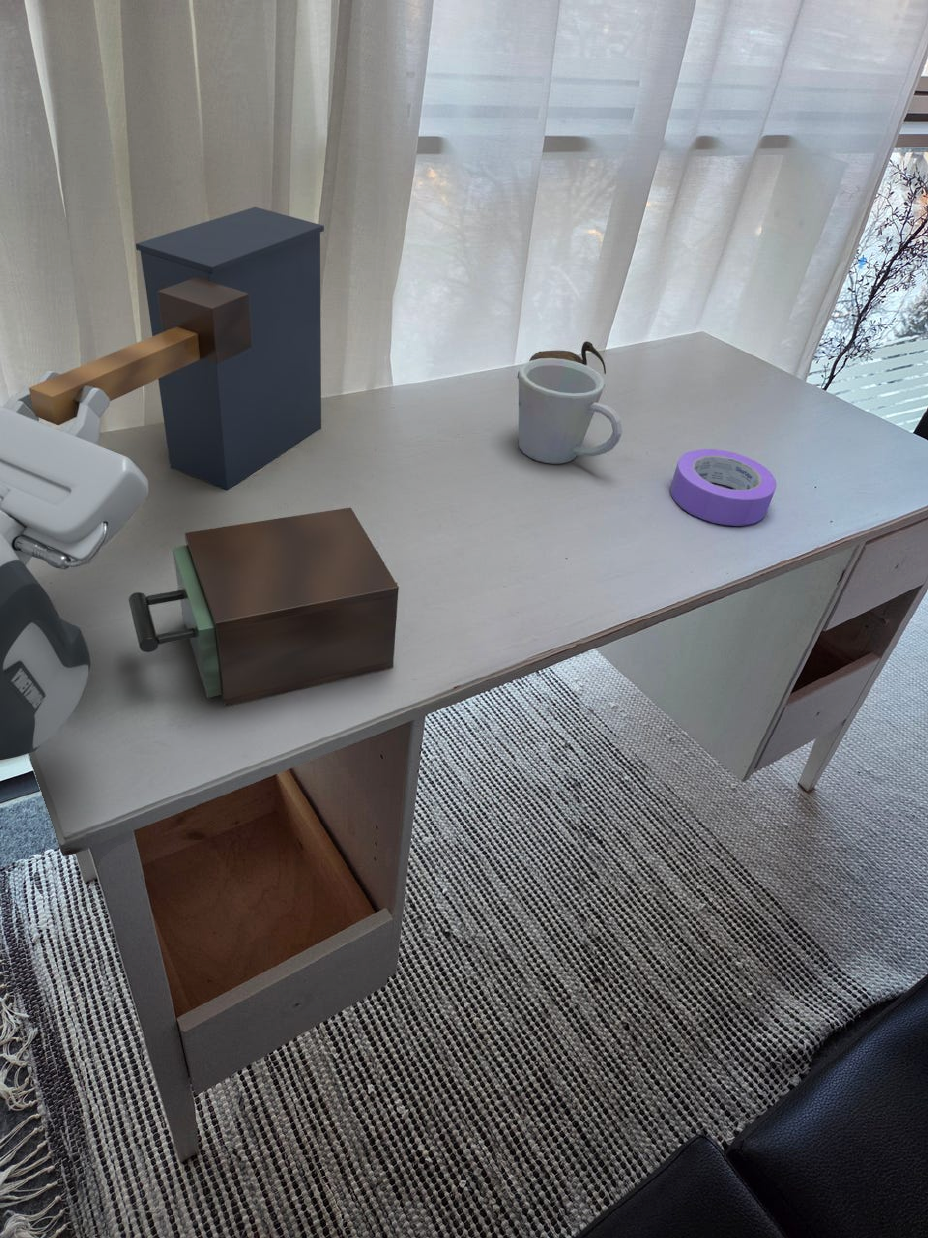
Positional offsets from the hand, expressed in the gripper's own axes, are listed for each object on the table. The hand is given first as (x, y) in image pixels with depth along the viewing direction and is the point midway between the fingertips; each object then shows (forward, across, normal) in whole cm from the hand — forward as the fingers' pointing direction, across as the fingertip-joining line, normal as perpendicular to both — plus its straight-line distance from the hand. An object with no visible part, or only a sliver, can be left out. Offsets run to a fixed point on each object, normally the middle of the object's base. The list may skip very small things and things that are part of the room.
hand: (80, 384), depth 66 cm
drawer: (-10, -15, +16) cm, 24 cm away
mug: (+32, -25, +42) cm, 58 cm away
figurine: (+47, -18, +50) cm, 71 cm away
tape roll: (+34, -45, +43) cm, 71 cm away
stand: (+14, +6, +31) cm, 34 cm away
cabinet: (-8, -18, +18) cm, 27 cm away
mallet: (+5, 0, +4) cm, 6 cm away
